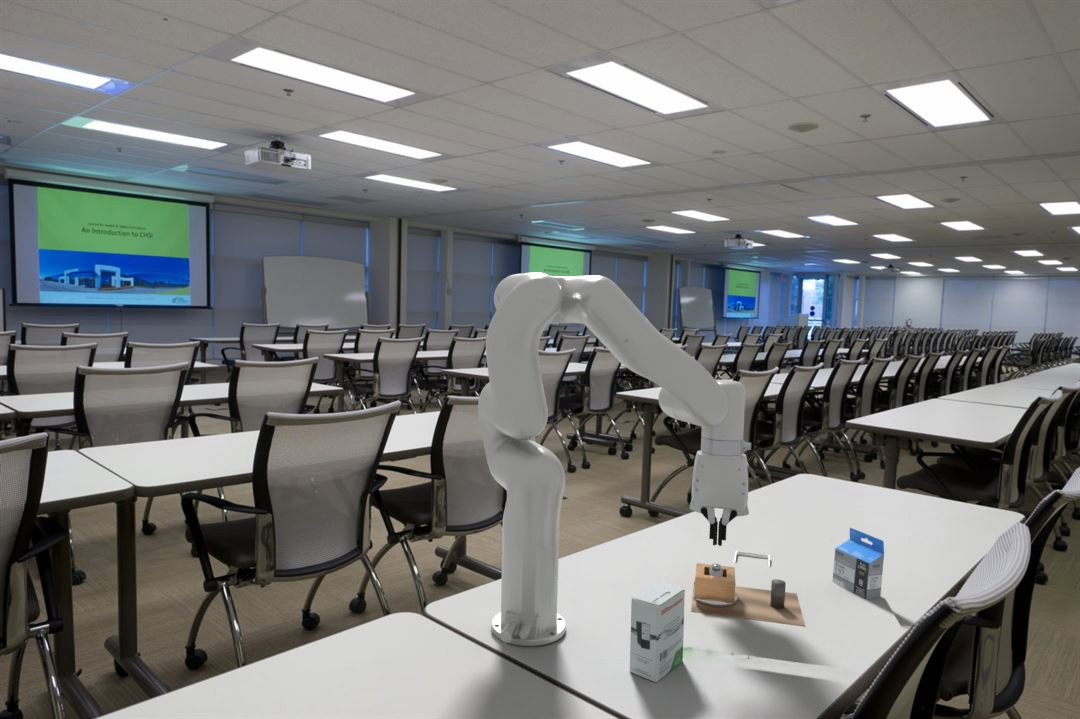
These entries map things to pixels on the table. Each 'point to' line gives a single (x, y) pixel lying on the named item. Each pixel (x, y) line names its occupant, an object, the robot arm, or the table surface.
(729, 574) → the wooden square washer
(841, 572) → the label tape box
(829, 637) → the table surface
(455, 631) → the table surface
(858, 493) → the table surface
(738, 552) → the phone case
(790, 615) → the walnut board
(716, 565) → the steel hub
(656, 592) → the ink box
